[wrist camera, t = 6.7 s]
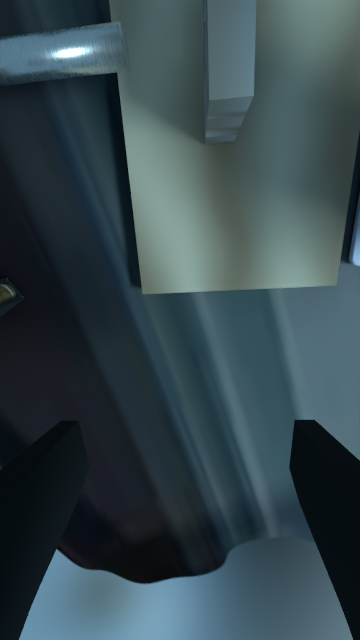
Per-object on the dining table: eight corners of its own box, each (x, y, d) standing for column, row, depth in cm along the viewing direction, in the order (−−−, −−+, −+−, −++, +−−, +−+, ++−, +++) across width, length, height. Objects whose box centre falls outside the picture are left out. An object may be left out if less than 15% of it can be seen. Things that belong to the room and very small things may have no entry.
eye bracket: (409, -324, 9) (781, -1293, 3) (326, 281, 17) (396, 310, 11) (87, -251, 10) (-63, -899, 4) (146, 289, 18) (120, 320, 12)
